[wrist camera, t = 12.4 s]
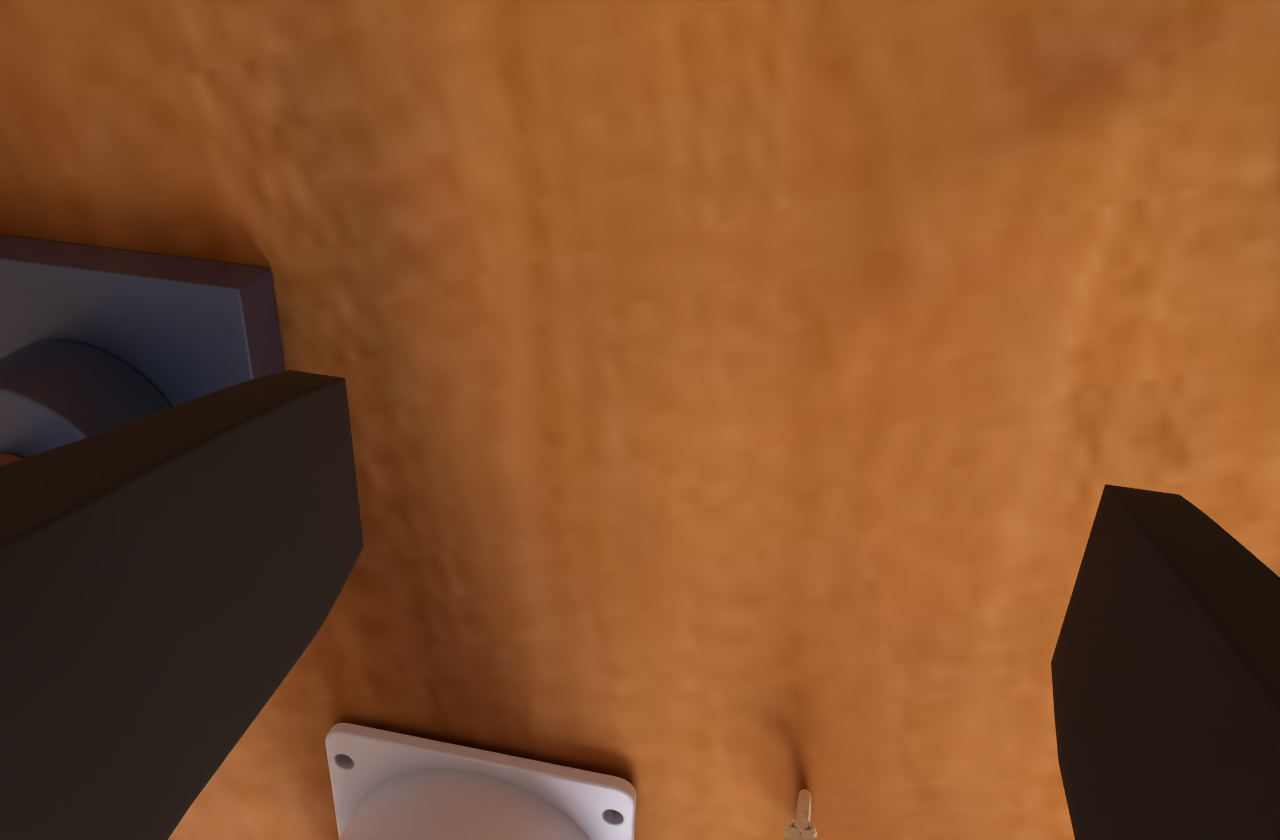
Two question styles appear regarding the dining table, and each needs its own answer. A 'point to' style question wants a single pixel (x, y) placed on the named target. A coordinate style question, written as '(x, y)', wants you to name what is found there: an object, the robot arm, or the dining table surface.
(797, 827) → the ring
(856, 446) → the dining table surface
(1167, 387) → the dining table surface
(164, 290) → the ring post
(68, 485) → the robot arm
